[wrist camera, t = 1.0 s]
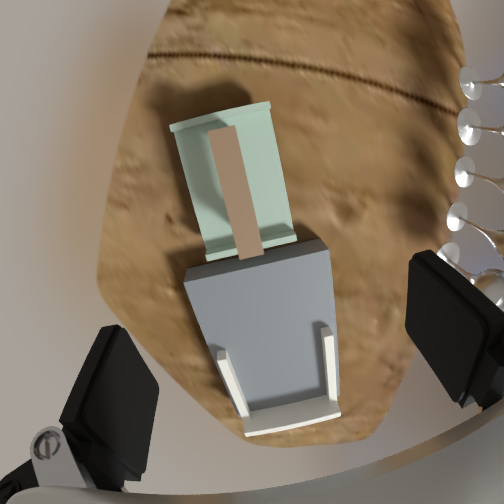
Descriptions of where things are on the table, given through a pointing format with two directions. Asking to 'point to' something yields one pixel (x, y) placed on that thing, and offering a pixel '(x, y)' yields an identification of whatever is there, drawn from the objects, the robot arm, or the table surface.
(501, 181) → the goblet set
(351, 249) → the table surface
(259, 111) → the mint green tray
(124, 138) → the table surface
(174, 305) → the table surface
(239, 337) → the dock
